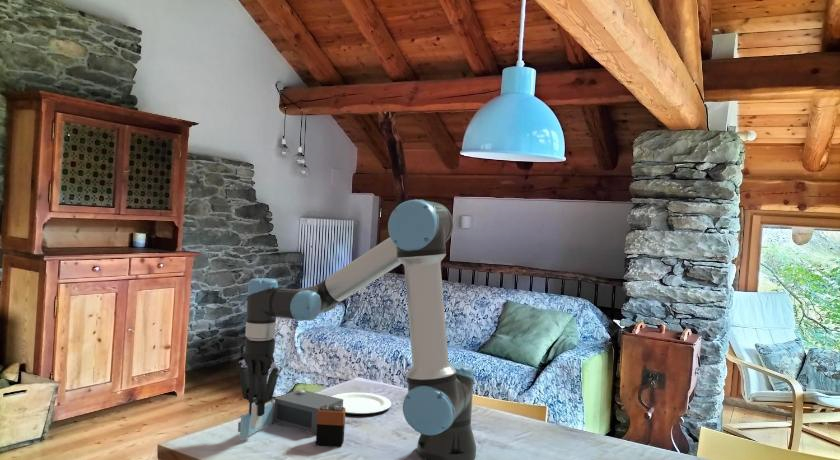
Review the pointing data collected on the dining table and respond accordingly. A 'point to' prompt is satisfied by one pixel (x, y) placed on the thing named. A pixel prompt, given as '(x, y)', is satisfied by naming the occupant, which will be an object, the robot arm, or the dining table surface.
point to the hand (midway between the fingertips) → (256, 427)
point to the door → (267, 419)
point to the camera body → (301, 409)
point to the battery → (330, 426)
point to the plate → (363, 403)
